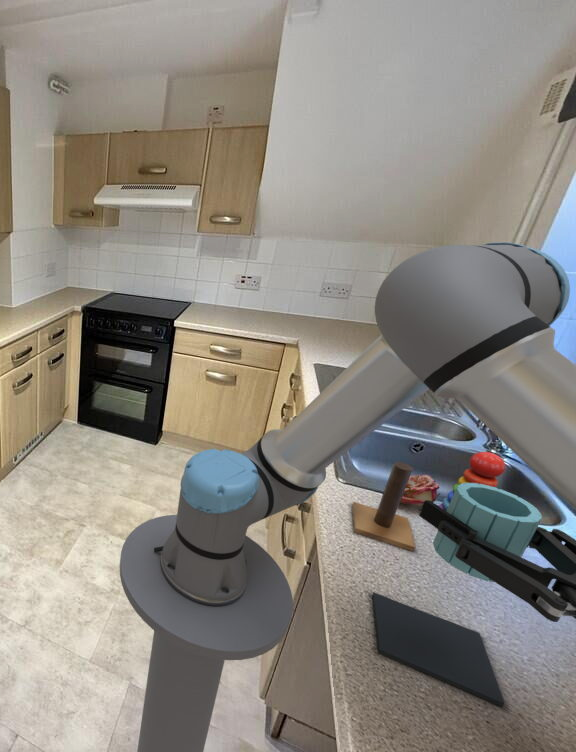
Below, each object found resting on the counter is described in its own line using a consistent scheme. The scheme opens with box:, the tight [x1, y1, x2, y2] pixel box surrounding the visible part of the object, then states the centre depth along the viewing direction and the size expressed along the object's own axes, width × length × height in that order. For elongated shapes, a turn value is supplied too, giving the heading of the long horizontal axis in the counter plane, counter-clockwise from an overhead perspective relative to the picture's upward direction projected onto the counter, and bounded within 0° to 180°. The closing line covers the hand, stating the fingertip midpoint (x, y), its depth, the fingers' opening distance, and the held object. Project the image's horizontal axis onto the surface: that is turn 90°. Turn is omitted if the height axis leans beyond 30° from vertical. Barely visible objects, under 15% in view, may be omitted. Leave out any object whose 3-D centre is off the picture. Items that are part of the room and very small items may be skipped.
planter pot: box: [432, 483, 543, 583], centre depth 57 cm, size 8×8×10 cm
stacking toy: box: [438, 451, 506, 511], centre depth 86 cm, size 8×8×19 cm
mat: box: [371, 592, 506, 708], centre depth 64 cm, size 14×12×1 cm
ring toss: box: [351, 461, 416, 552], centre depth 86 cm, size 10×10×16 cm
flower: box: [400, 473, 441, 508], centre depth 95 cm, size 10×9×8 cm
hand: (449, 505), depth 61 cm, fingers closed on planter pot, 8 cm apart
